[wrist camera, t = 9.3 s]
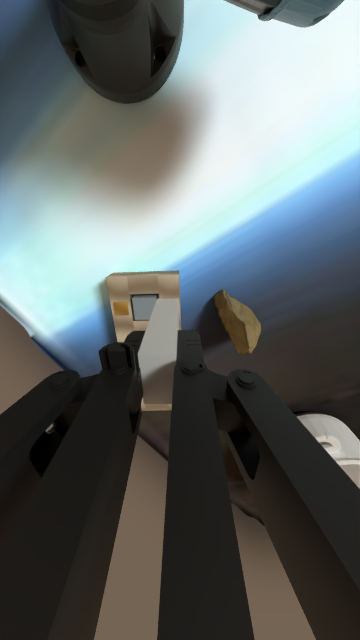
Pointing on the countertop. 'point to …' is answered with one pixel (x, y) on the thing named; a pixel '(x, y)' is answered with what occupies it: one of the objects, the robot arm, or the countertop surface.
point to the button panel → (122, 305)
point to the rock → (238, 322)
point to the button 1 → (143, 305)
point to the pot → (335, 441)
